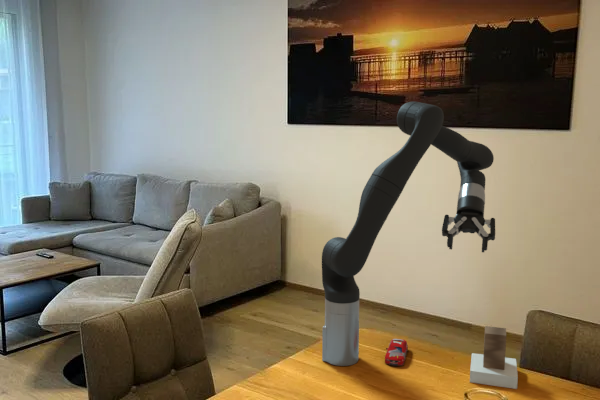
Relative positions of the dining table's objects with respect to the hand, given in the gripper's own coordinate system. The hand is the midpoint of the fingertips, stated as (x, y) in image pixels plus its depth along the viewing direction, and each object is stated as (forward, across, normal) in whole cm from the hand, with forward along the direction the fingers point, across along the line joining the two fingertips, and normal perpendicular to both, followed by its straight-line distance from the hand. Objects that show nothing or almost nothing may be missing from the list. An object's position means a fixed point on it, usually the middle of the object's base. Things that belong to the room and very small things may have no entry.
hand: (466, 249), depth 152 cm
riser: (+30, +9, +12) cm, 33 cm away
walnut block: (+28, +9, +10) cm, 31 cm away
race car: (+28, -16, +14) cm, 36 cm away
